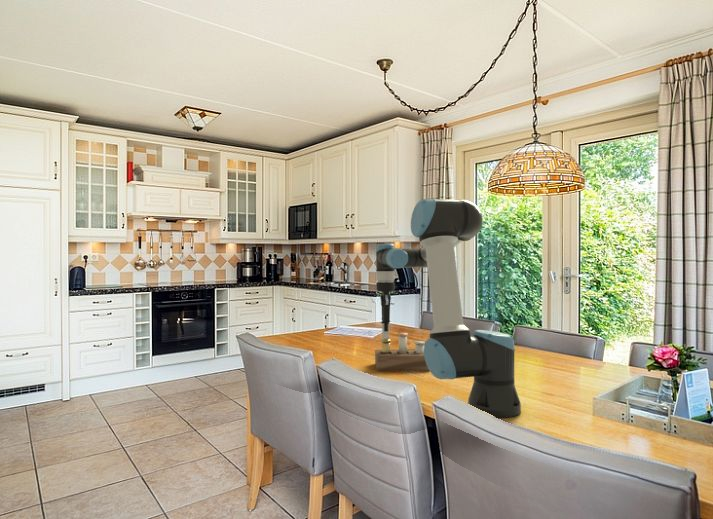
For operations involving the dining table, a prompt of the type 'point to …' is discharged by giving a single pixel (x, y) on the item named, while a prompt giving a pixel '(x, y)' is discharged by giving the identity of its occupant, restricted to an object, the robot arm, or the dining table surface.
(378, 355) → the brown wooden block
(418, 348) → the grey plug
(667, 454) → the dining table surface
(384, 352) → the brass plug
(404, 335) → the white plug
